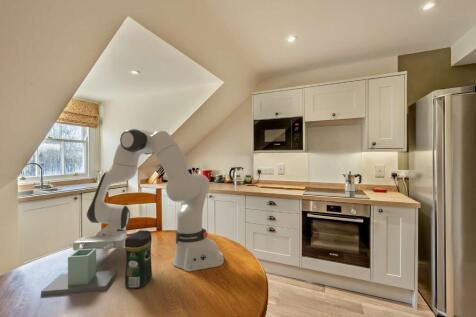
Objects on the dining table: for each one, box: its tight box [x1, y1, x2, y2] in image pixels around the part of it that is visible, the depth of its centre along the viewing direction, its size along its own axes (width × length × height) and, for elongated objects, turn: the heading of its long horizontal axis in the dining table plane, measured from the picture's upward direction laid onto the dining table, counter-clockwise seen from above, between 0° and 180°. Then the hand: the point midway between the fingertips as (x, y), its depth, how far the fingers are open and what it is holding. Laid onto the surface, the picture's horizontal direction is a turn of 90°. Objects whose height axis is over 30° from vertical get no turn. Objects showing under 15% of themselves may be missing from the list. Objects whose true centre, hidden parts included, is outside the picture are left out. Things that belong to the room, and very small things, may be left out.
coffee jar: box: [124, 229, 153, 290], centre depth 83 cm, size 10×8×19 cm
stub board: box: [40, 269, 118, 296], centre depth 82 cm, size 20×11×6 cm, turn 100°
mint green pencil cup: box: [67, 249, 97, 285], centre depth 82 cm, size 6×6×10 cm
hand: (92, 250), depth 89 cm, fingers open, 8 cm apart
